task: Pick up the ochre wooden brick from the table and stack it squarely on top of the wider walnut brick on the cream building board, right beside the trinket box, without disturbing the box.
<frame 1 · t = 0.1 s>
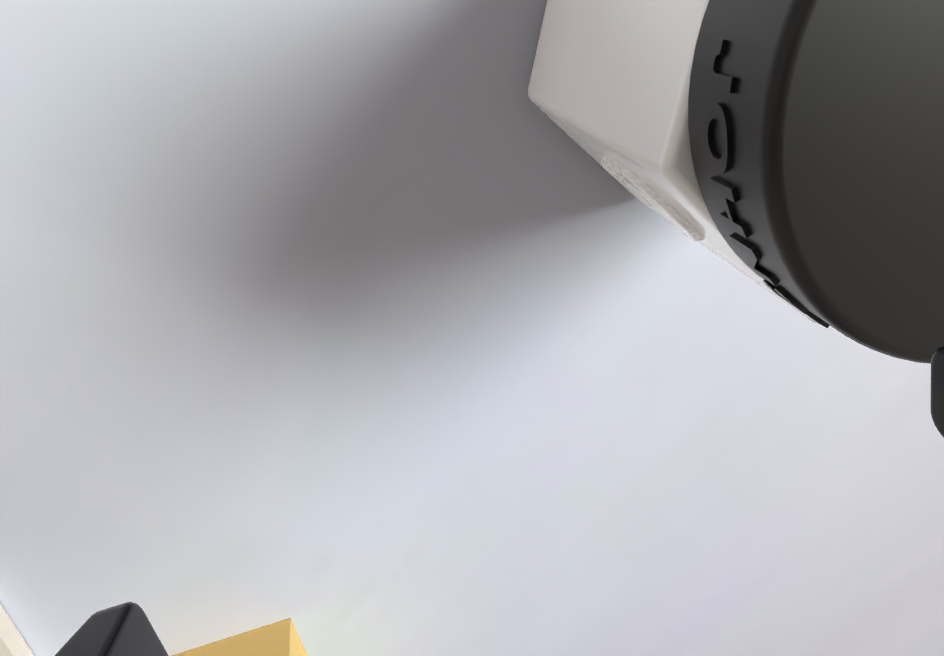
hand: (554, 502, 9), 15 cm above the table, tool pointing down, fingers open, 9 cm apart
jar: (679, 34, 22), on the table
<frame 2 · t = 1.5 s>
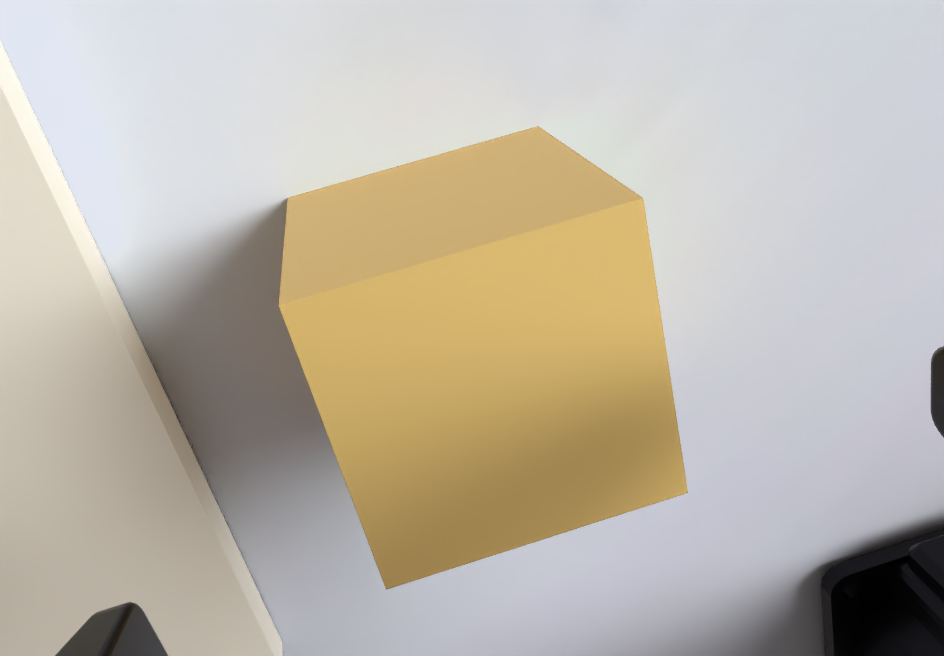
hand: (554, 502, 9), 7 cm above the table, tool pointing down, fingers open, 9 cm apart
ochre brick: (446, 277, 15), on the table
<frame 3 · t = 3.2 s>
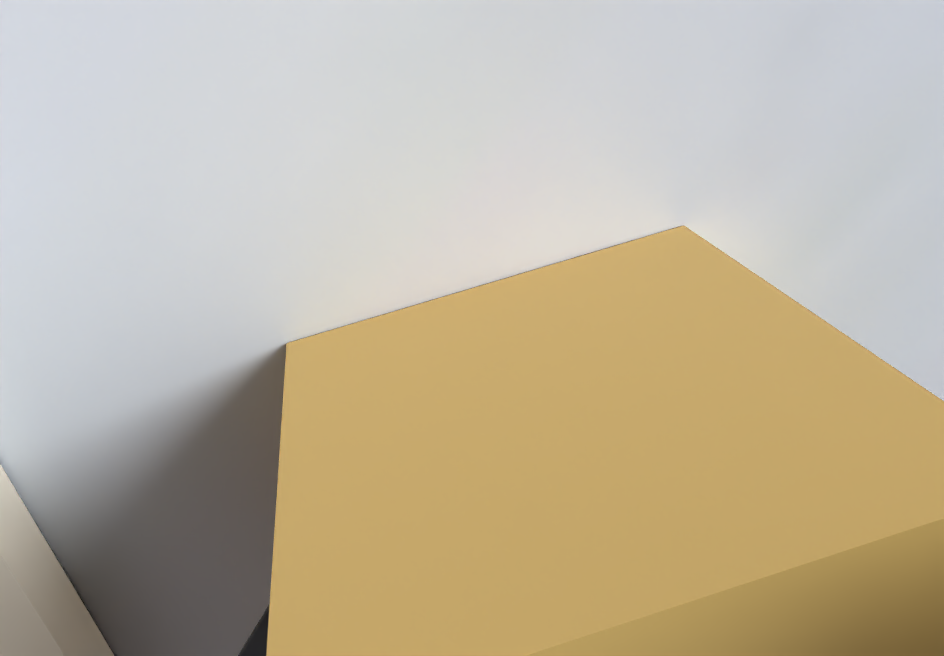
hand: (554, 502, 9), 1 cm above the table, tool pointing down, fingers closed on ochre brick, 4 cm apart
ochre brick: (530, 451, 10), on the table, touching gripper
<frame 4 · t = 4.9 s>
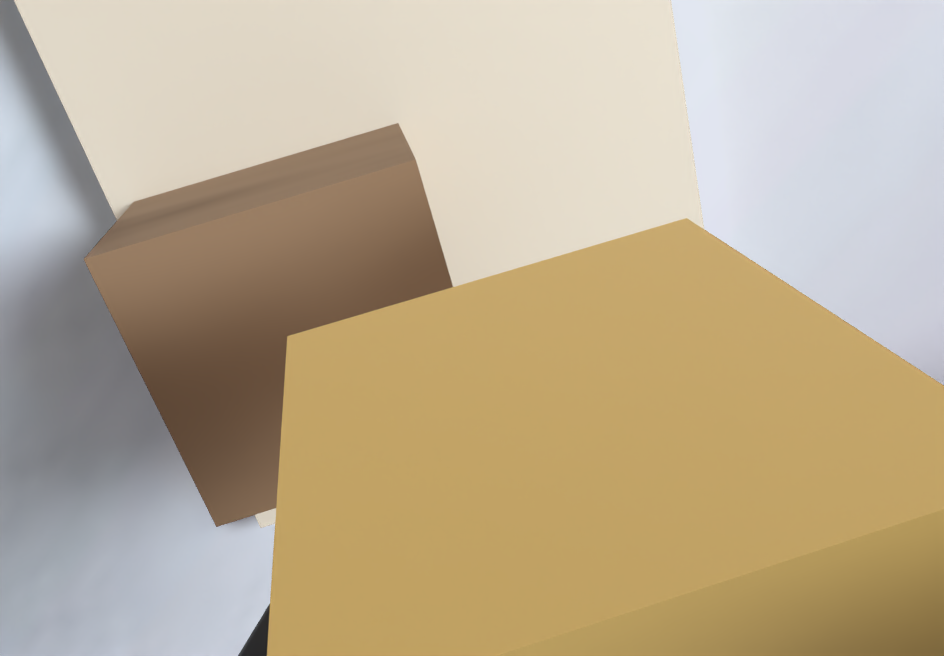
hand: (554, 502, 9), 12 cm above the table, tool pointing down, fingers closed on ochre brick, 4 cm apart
building board: (413, 179, 19), on the table
walnut brick: (312, 284, 19), point 1 cm above the table, touching building board
ochre brick: (532, 446, 10), point 11 cm above the table, touching gripper
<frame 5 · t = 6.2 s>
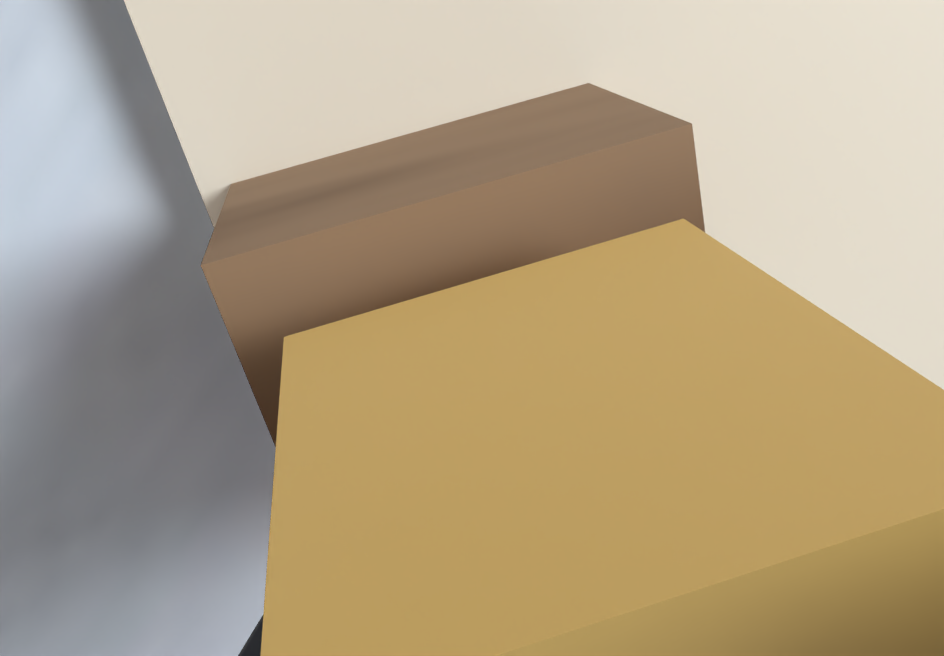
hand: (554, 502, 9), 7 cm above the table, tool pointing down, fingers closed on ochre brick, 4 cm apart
building board: (589, 160, 15), on the table
walnut brick: (457, 298, 14), point 1 cm above the table, touching building board
ochre brick: (529, 446, 10), point 6 cm above the table, touching gripper
when the fingers open (7 cm above the table, at t = 6.7 s): ochre brick drops 1 cm, resting on walnut brick.
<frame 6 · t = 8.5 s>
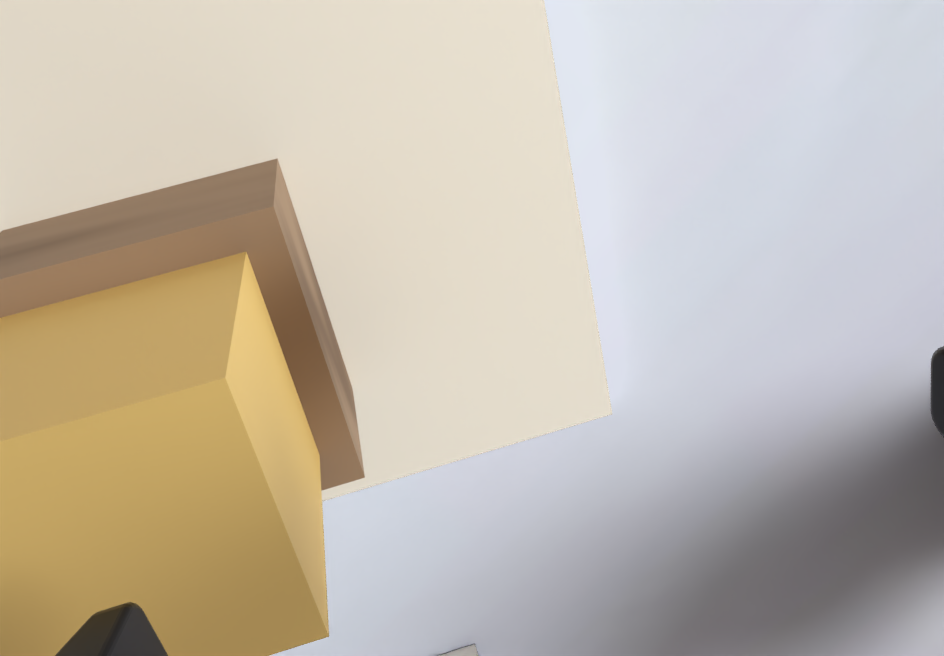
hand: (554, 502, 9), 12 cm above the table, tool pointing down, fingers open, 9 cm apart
building board: (298, 212, 19), on the table
walnut brick: (191, 315, 19), point 1 cm above the table, touching building board, ochre brick
ochre brick: (168, 392, 15), point 5 cm above the table, touching walnut brick
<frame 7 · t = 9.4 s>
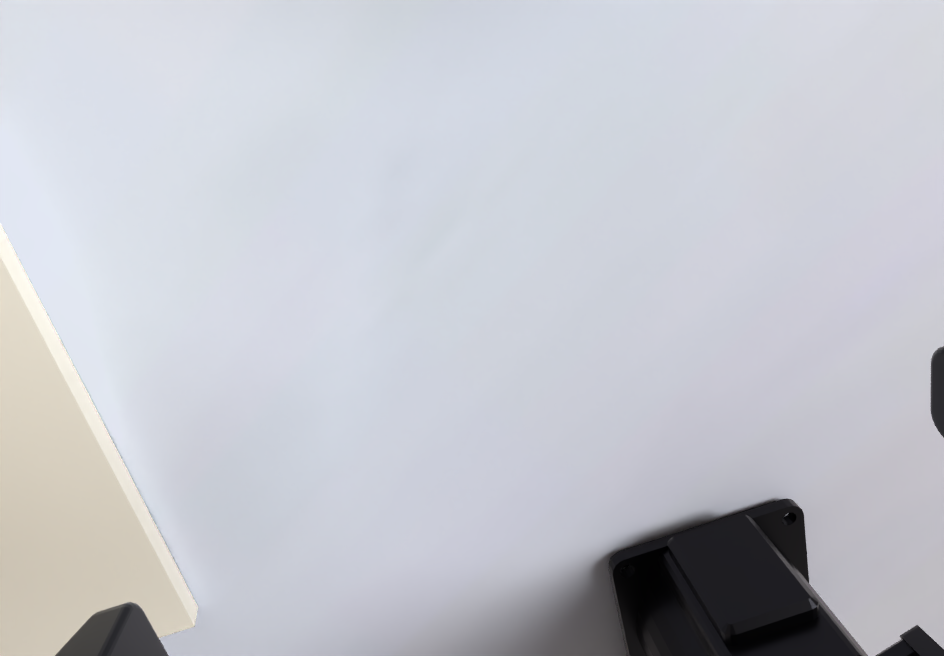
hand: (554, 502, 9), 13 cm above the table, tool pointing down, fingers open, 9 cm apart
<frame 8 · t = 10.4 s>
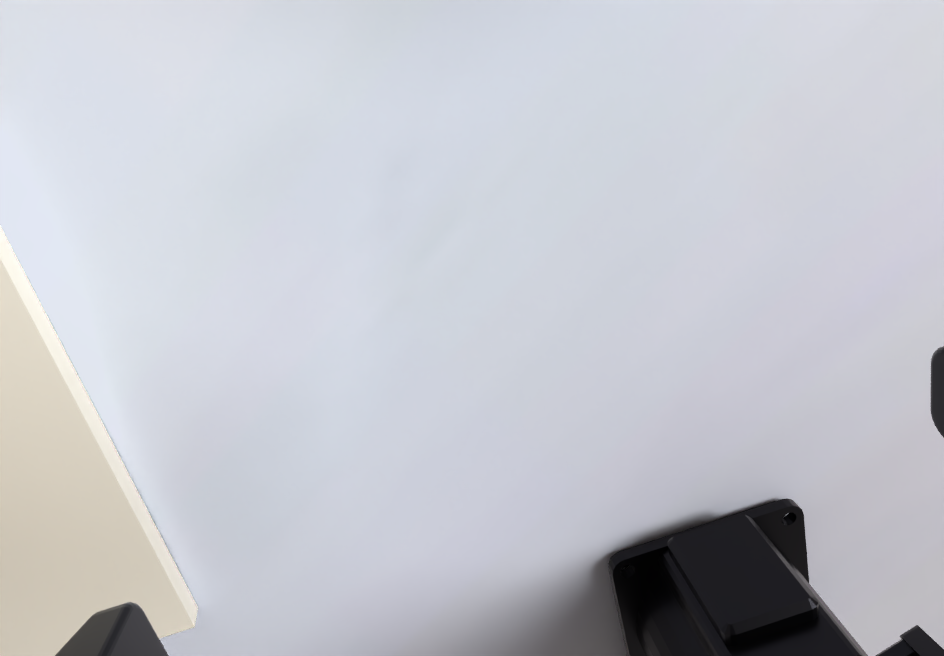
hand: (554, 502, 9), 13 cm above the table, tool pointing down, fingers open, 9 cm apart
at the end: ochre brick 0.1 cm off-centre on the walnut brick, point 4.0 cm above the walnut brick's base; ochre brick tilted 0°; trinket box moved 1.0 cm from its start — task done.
